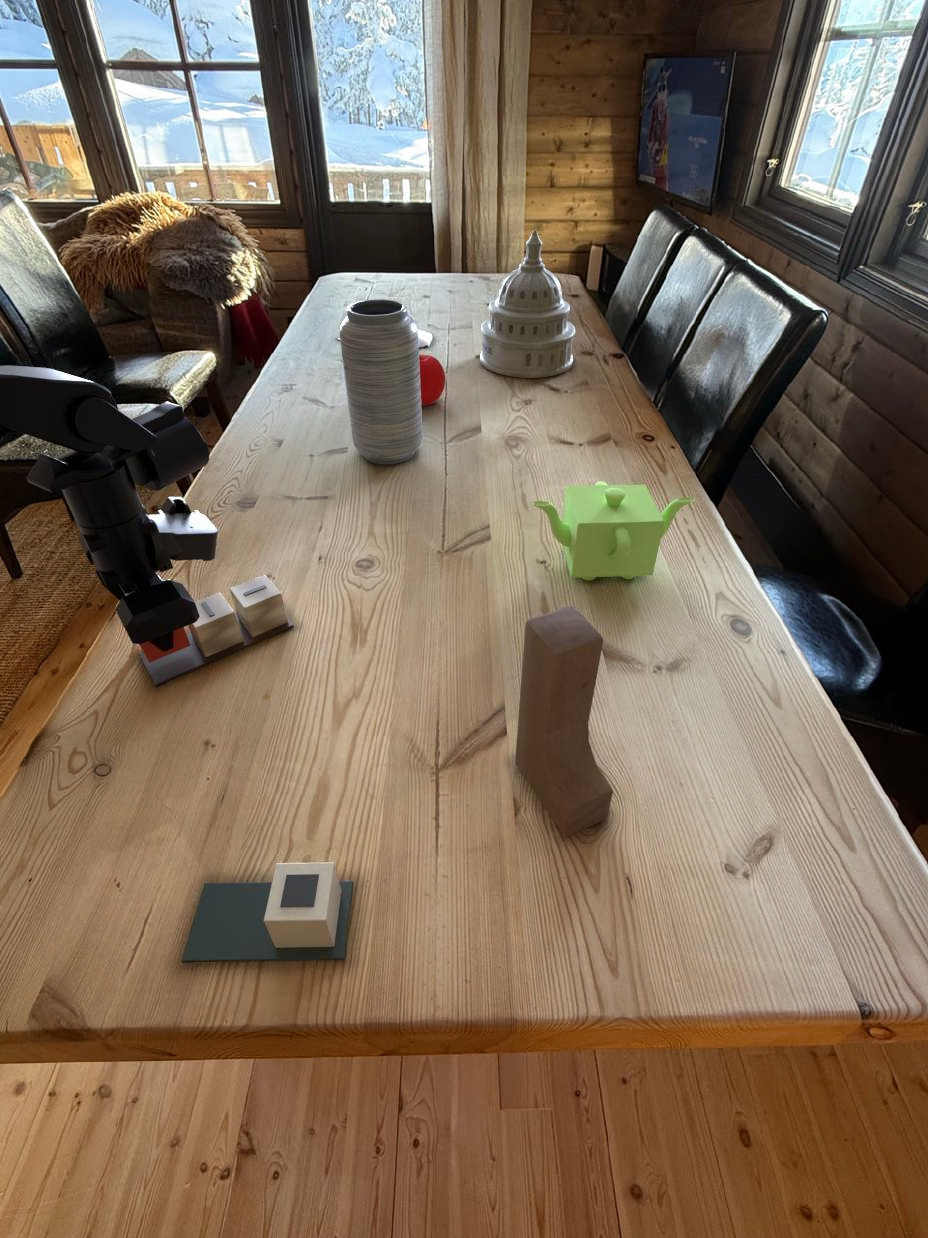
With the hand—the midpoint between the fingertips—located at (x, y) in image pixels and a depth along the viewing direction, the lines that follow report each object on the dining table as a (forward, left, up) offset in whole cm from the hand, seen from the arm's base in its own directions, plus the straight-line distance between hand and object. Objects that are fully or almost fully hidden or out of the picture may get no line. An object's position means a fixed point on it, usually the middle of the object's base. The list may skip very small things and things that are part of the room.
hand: (161, 637), depth 71 cm
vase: (+37, +39, -4) cm, 54 cm away
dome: (+77, +69, -4) cm, 103 cm away
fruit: (+49, +57, -4) cm, 75 cm away
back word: (+5, +1, -4) cm, 6 cm away
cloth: (+53, +95, -4) cm, 109 cm away
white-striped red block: (0, 0, -1) cm, 1 cm away
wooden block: (+32, -31, -4) cm, 45 cm away
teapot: (+54, -2, -4) cm, 54 cm away
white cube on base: (+6, -33, -4) cm, 34 cm away
